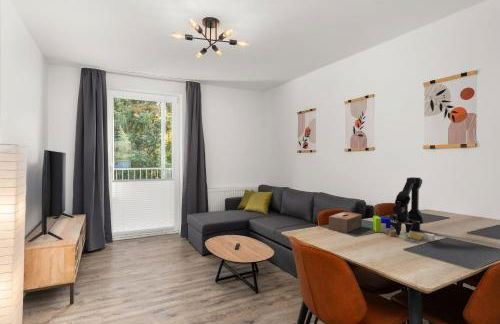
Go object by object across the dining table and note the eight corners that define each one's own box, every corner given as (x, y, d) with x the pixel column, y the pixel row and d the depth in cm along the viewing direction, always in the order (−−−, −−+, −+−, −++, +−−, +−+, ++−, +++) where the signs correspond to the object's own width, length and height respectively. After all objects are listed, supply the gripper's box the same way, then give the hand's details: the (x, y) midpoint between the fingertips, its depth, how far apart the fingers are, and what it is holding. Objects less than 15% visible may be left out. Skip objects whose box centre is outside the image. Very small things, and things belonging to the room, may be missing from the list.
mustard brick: (410, 237, 195) (410, 232, 195) (412, 237, 197) (412, 232, 197) (418, 240, 190) (418, 234, 190) (421, 239, 192) (421, 234, 192)
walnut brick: (385, 234, 204) (385, 229, 204) (389, 234, 204) (389, 229, 204) (390, 236, 198) (390, 231, 198) (394, 236, 199) (394, 231, 198)
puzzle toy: (390, 232, 207) (390, 219, 207) (375, 232, 209) (376, 218, 209) (386, 229, 217) (387, 216, 217) (372, 228, 219) (372, 215, 219)
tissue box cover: (344, 223, 236) (344, 211, 236) (361, 226, 226) (361, 214, 226) (328, 229, 217) (328, 216, 217) (346, 233, 207) (346, 219, 207)
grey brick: (422, 238, 193) (422, 233, 193) (425, 237, 195) (425, 232, 195) (432, 240, 188) (432, 235, 188) (434, 240, 190) (434, 234, 190)
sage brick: (397, 236, 199) (397, 231, 199) (400, 235, 200) (400, 230, 200) (405, 238, 193) (405, 233, 193) (408, 238, 195) (408, 232, 195)
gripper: (401, 209, 208) (401, 230, 208) (383, 211, 199) (383, 233, 200) (416, 211, 198) (415, 234, 198) (397, 214, 189) (397, 237, 190)
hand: (402, 234), depth 197 cm, fingers open, 9 cm apart
